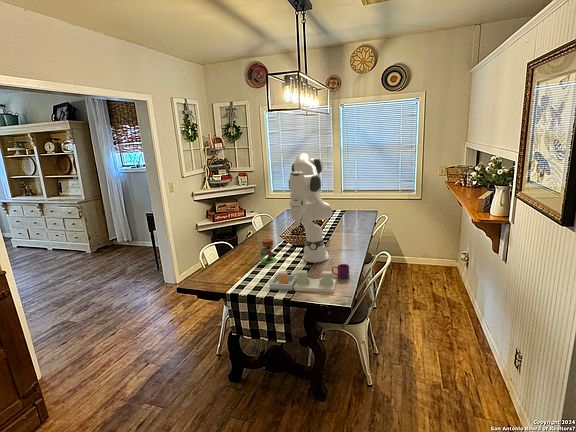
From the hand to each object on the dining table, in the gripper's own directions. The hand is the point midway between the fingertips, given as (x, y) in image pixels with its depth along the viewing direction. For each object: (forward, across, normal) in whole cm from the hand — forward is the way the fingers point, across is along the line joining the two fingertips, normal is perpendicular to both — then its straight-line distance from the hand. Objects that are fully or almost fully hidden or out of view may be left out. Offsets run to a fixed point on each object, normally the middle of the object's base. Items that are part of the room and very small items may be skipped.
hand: (299, 223), depth 186 cm
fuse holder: (+34, +10, +9) cm, 37 cm away
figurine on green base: (+34, -27, -30) cm, 53 cm away
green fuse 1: (+32, +10, +2) cm, 34 cm away
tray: (+34, +10, -10) cm, 37 cm away
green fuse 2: (+32, +10, +16) cm, 37 cm away
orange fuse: (+33, +10, -9) cm, 36 cm away
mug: (+34, -5, +22) cm, 41 cm away
